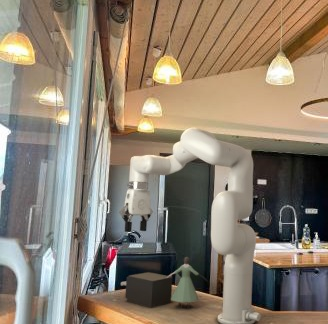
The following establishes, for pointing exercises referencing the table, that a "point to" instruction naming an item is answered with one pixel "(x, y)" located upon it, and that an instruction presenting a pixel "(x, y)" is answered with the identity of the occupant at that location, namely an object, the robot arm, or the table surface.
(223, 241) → the robot arm
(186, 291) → the character figurine
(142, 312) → the table surface
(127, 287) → the drawer
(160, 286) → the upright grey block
